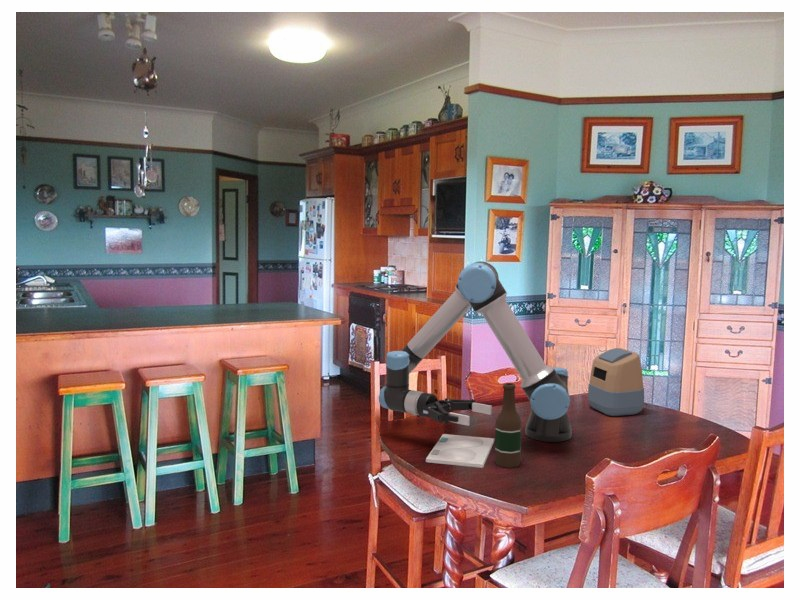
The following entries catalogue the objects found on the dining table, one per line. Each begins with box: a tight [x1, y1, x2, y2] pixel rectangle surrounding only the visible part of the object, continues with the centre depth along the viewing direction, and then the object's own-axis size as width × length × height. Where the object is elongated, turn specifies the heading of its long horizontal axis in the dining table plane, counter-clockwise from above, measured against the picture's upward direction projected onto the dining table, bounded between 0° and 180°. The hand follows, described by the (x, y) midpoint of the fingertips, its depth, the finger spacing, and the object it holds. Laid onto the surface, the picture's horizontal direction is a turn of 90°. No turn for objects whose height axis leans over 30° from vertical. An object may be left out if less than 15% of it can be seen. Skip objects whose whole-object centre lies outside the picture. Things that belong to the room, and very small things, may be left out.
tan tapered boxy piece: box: [587, 347, 645, 417], centre depth 243 cm, size 17×17×23 cm
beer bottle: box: [494, 382, 522, 469], centre depth 189 cm, size 8×8×24 cm
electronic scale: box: [425, 433, 495, 469], centre depth 200 cm, size 17×24×1 cm
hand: (480, 415), depth 194 cm, fingers open, 13 cm apart
